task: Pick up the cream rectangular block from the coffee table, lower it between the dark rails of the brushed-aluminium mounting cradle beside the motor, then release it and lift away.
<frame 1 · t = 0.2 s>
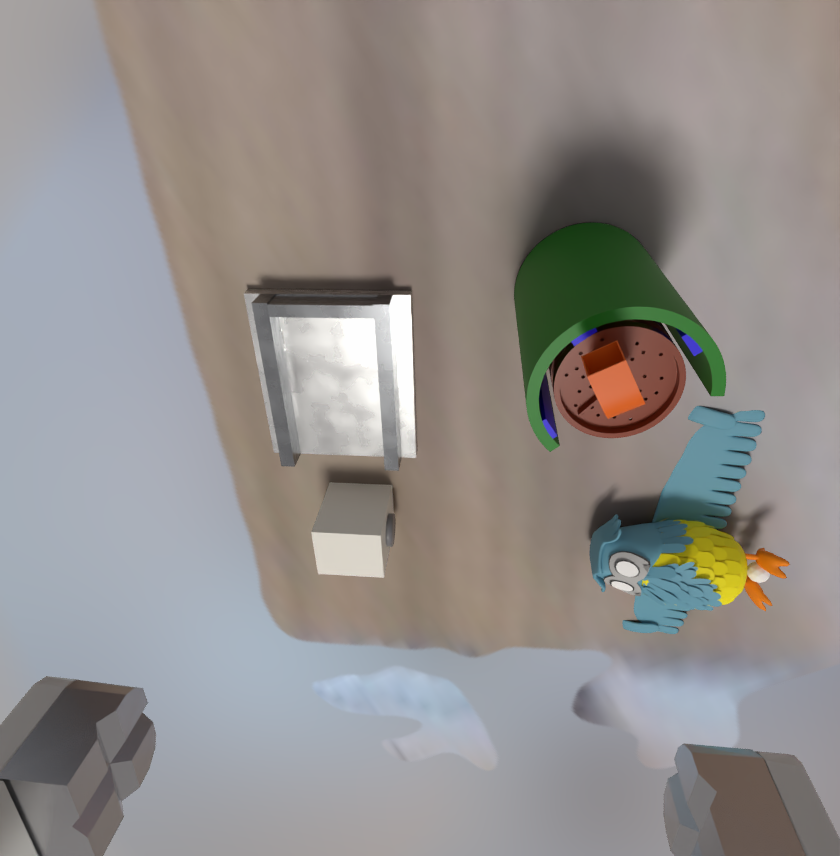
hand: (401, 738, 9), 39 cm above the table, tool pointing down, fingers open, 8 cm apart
cream rectangular block: (362, 503, 58), on the table
motor: (578, 284, 45), on the table
owl figurine: (667, 527, 57), on the table
cradle: (338, 375, 51), on the table
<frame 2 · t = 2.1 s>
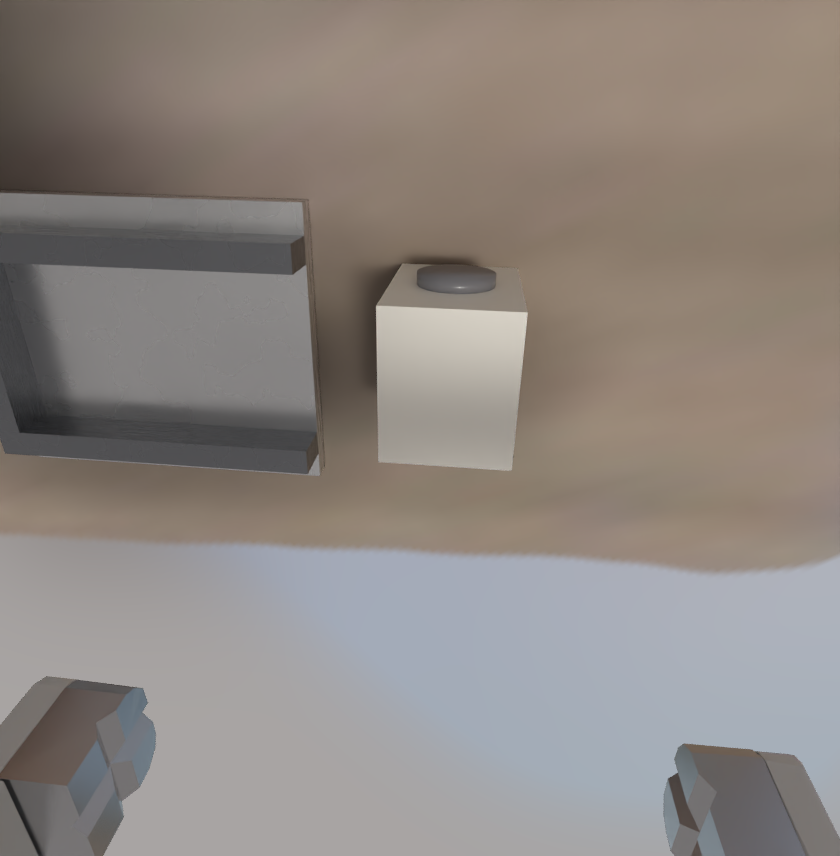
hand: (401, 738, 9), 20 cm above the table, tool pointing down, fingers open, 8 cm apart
cream rectangular block: (456, 332, 27), on the table
cradle: (164, 338, 29), on the table
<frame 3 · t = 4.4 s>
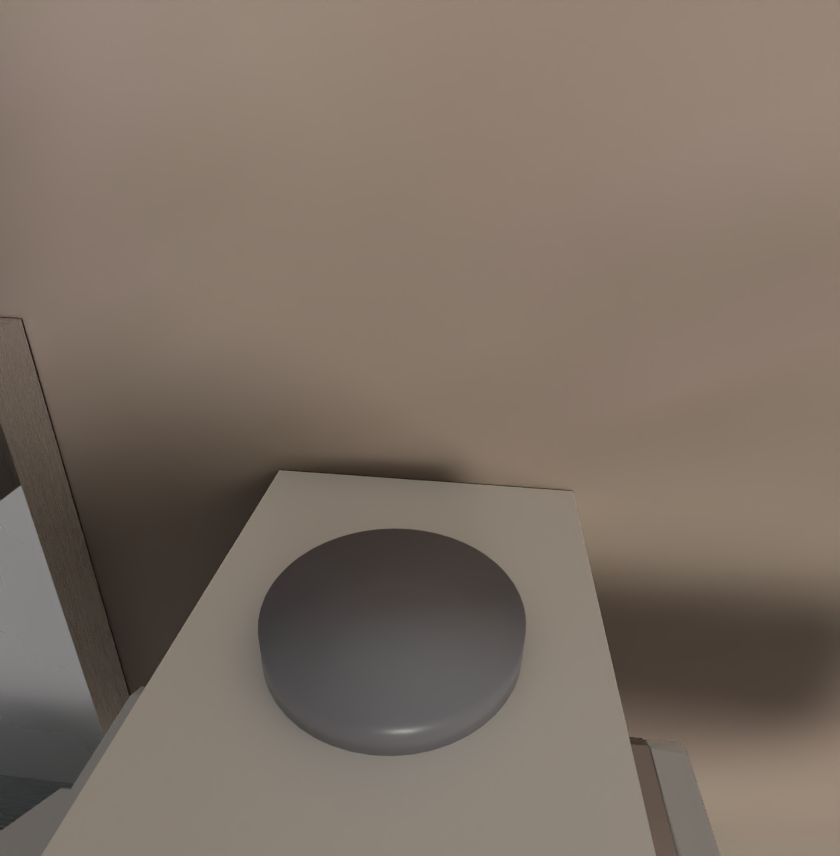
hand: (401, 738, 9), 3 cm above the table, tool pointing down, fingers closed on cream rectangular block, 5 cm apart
cream rectangular block: (419, 613, 11), on the table, touching gripper
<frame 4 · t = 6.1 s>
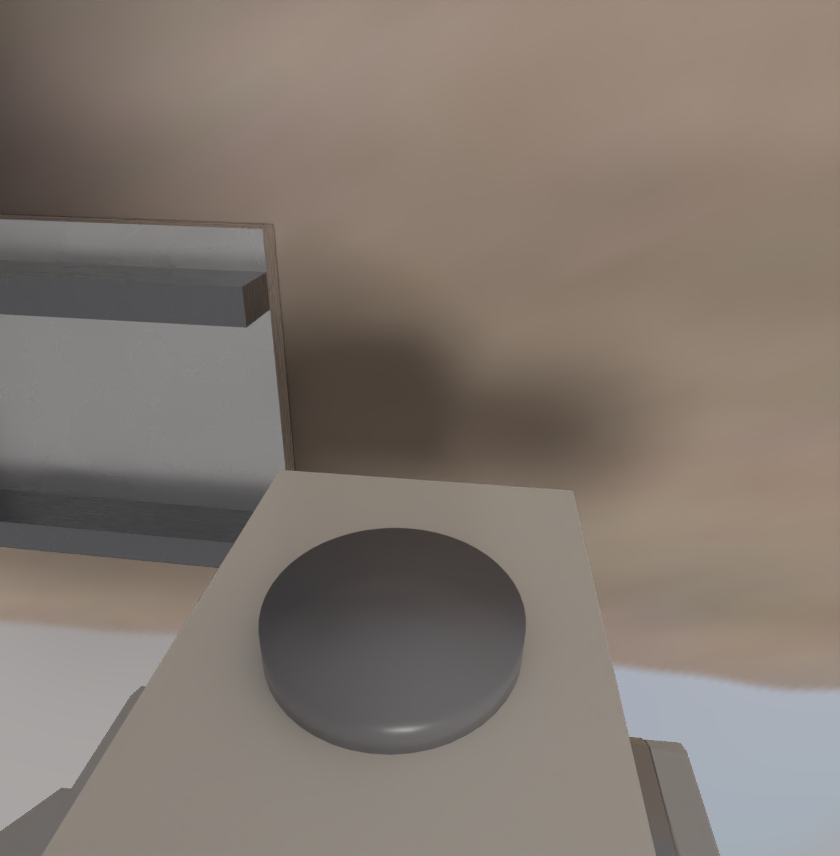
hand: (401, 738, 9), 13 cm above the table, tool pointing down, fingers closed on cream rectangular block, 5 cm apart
cream rectangular block: (420, 613, 12), point 11 cm above the table, touching gripper
cradle: (98, 395, 23), on the table
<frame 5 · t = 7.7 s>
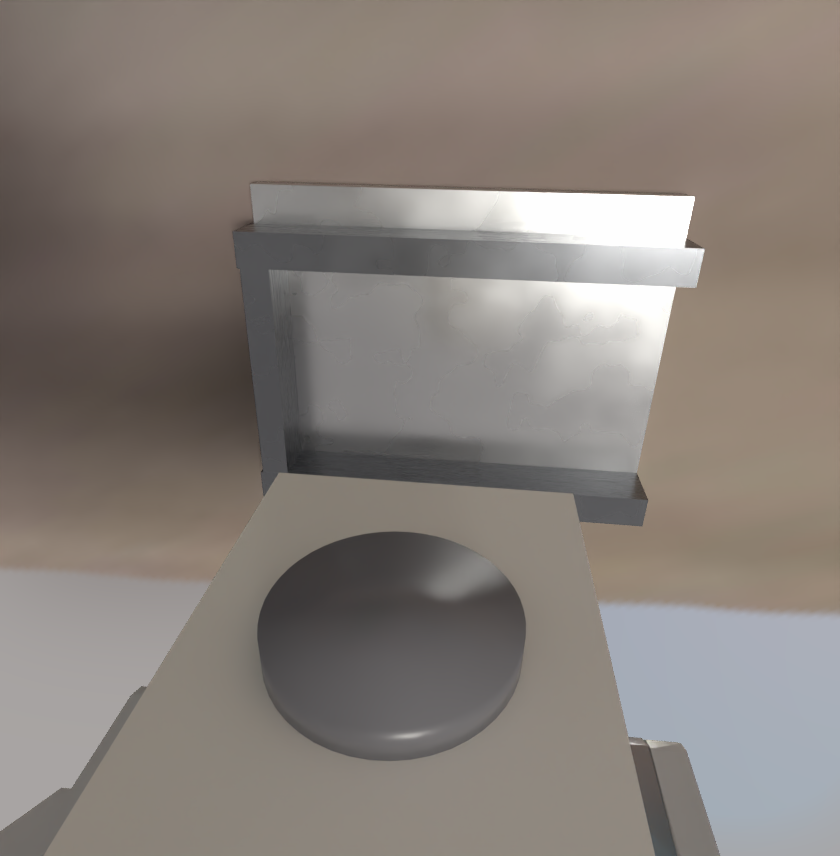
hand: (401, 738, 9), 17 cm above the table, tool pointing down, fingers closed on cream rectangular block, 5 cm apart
cream rectangular block: (419, 616, 11), point 14 cm above the table, touching gripper
cradle: (457, 361, 24), on the table
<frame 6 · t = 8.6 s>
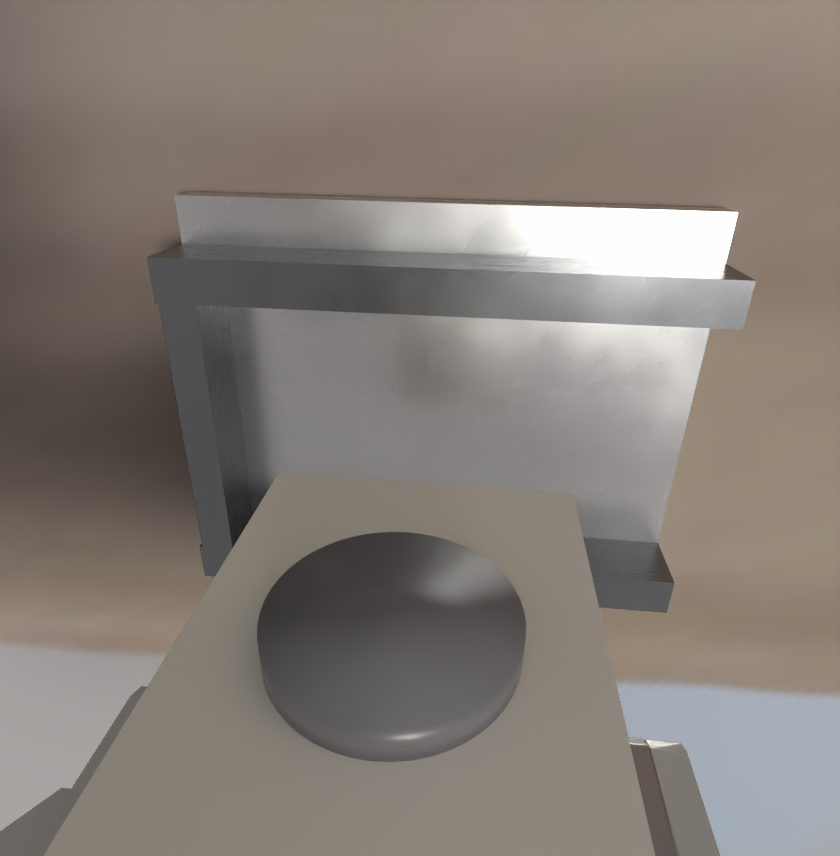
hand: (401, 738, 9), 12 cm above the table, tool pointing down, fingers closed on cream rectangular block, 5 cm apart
cream rectangular block: (419, 616, 11), point 9 cm above the table, touching gripper
cradle: (440, 409, 20), on the table
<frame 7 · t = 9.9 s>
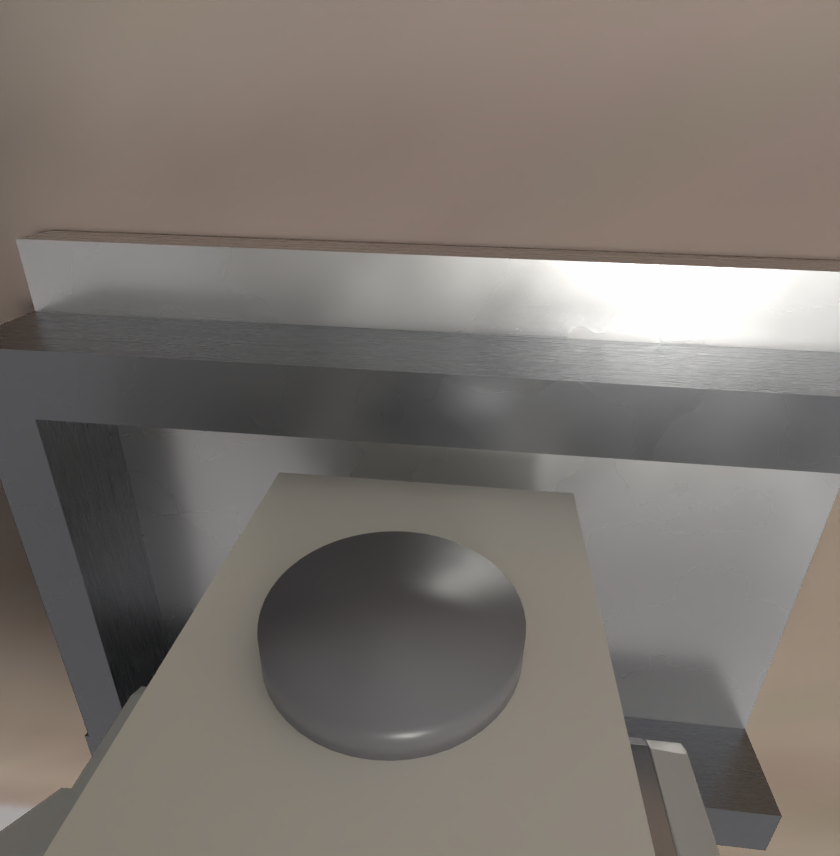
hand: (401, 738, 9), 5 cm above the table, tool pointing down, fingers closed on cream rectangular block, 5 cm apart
cream rectangular block: (419, 616, 11), point 3 cm above the table, touching gripper
cradle: (433, 537, 14), on the table
when the fingers open (5 cm above the table, at t = 10.6 s): cream rectangular block drops 1 cm, resting on cradle.
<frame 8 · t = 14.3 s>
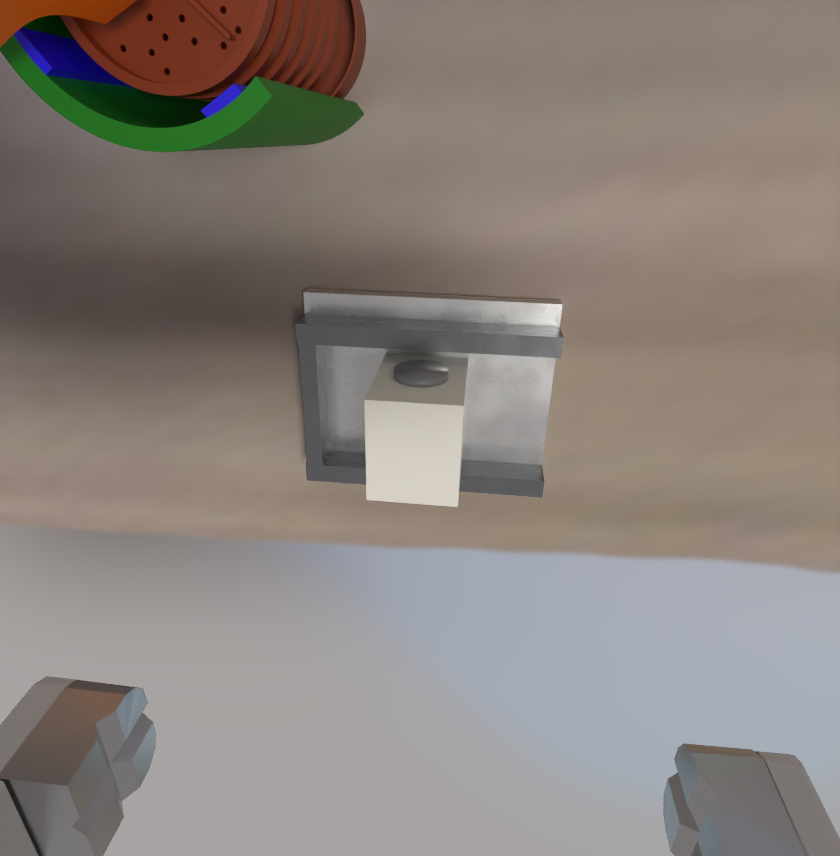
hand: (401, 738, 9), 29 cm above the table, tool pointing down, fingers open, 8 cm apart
cream rectangular block: (425, 400, 37), point 1 cm above the table, touching cradle
motor: (283, 43, 31), on the table
cradle: (429, 394, 38), on the table
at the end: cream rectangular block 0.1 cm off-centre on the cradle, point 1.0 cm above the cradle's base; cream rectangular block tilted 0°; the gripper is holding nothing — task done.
